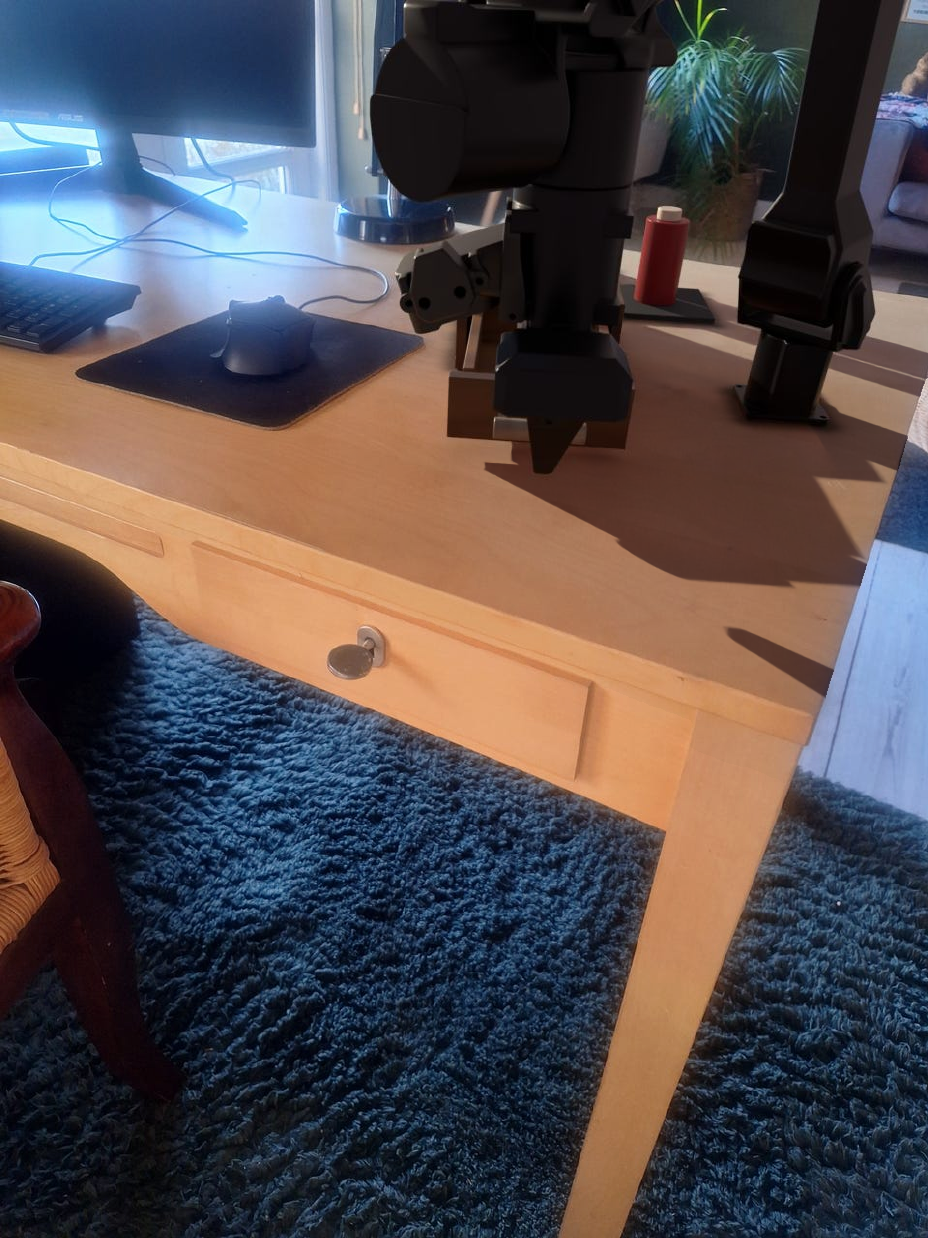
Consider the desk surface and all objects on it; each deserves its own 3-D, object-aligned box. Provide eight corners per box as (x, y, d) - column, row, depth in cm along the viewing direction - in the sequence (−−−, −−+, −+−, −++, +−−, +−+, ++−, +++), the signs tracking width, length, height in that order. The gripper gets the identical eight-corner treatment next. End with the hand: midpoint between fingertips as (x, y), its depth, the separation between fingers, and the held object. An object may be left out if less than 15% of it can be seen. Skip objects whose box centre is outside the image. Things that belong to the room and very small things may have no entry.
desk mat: (714, 324, 86) (715, 318, 86) (607, 317, 87) (607, 311, 86) (697, 294, 95) (698, 288, 95) (600, 287, 96) (601, 282, 95)
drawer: (630, 477, 56) (642, 414, 53) (441, 463, 56) (443, 400, 54) (606, 358, 74) (614, 307, 72) (464, 348, 74) (466, 297, 72)
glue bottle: (677, 307, 89) (695, 214, 83) (635, 304, 89) (650, 211, 83) (672, 295, 92) (689, 205, 87) (632, 292, 92) (646, 202, 87)
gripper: (426, 141, 48) (423, 401, 58) (379, 210, 33) (385, 545, 43) (621, 152, 48) (585, 411, 57) (661, 226, 33) (605, 560, 43)
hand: (542, 471), depth 50 cm, fingers closed
